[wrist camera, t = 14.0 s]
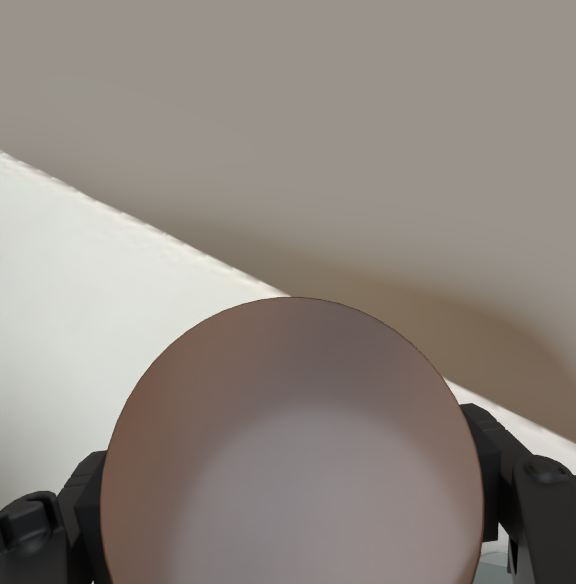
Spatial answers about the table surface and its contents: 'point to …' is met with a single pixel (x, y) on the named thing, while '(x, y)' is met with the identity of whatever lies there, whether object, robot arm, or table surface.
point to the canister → (493, 569)
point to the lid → (292, 458)
